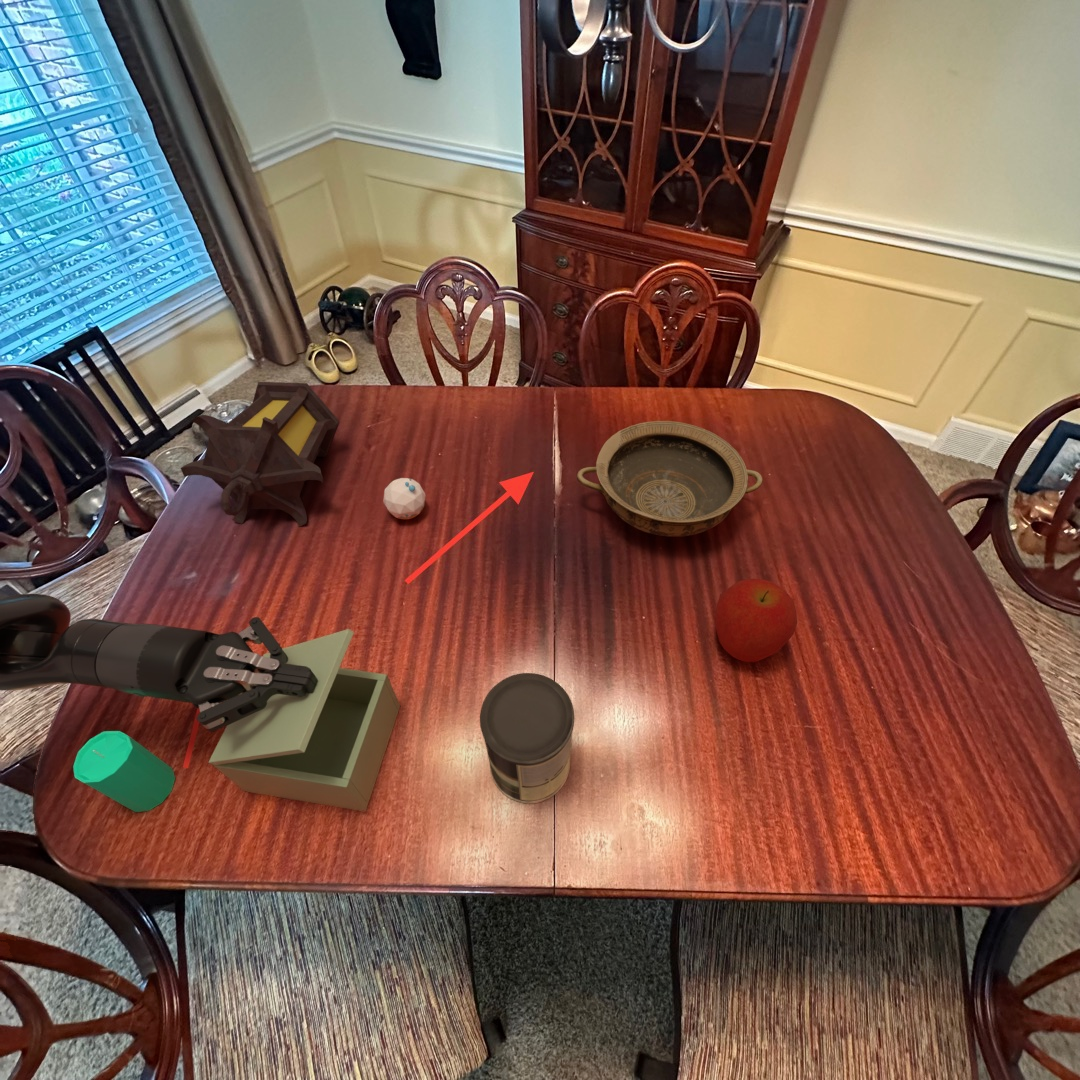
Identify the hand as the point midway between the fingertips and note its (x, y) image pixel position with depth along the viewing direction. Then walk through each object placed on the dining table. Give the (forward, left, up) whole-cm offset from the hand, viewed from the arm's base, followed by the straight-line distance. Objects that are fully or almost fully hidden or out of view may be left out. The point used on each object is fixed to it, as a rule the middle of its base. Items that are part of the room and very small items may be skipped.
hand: (313, 682), depth 63 cm
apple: (+45, -31, -19) cm, 58 cm away
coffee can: (+13, -18, -19) cm, 29 cm away
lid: (-3, +4, -5) cm, 7 cm away
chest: (-2, +4, -19) cm, 19 cm away
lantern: (+22, +46, -19) cm, 55 cm away
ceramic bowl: (+61, -8, -19) cm, 64 cm away
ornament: (+33, +26, -19) cm, 46 cm away
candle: (-19, +17, -19) cm, 32 cm away
